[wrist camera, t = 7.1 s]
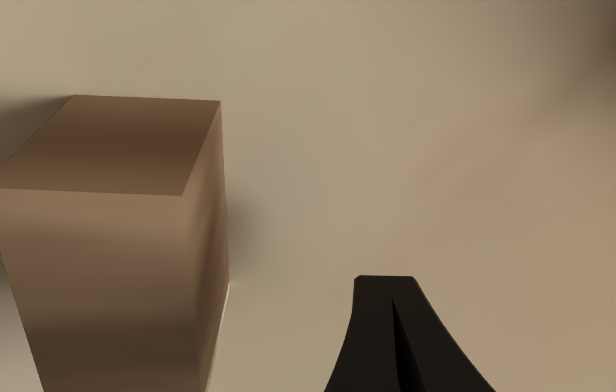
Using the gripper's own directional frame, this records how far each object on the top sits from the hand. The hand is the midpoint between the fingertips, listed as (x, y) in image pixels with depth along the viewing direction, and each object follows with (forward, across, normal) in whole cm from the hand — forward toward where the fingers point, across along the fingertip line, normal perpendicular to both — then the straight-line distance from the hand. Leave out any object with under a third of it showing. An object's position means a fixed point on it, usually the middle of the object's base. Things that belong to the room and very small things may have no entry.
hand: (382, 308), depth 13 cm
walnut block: (+2, +6, +3) cm, 8 cm away
